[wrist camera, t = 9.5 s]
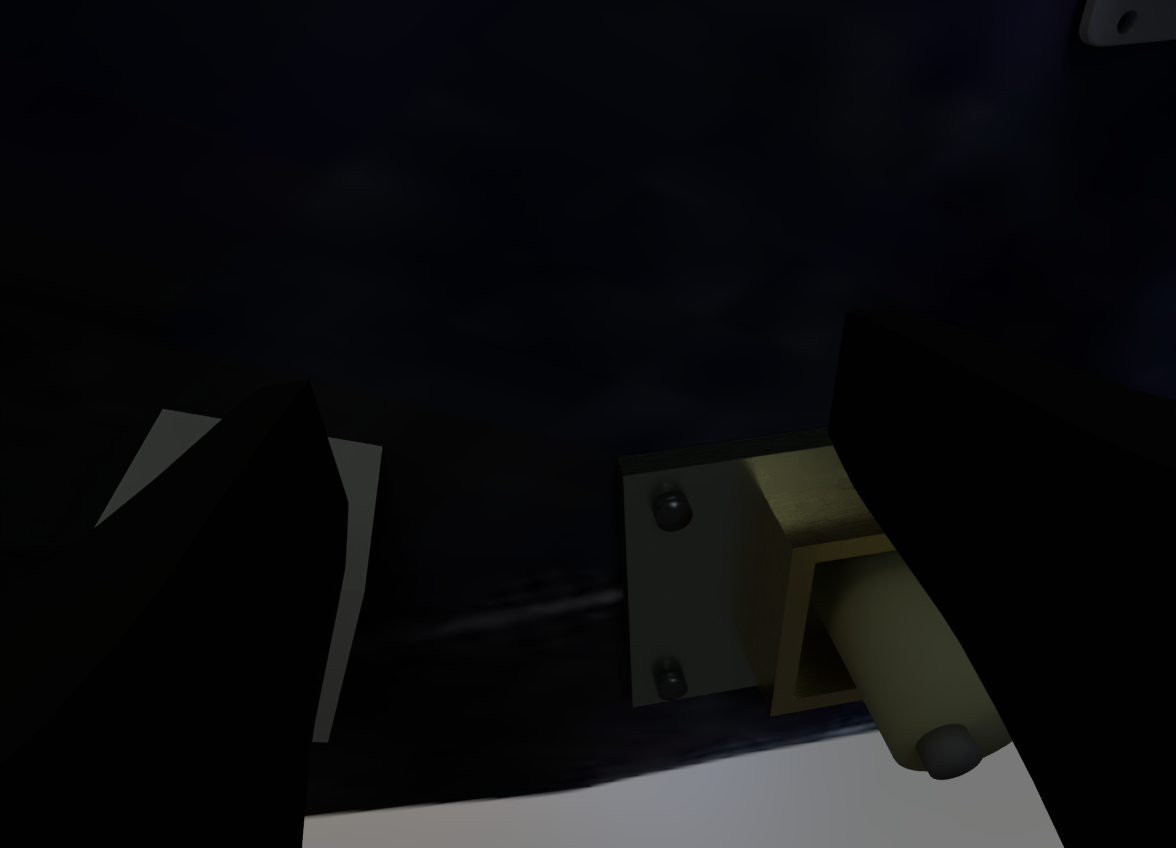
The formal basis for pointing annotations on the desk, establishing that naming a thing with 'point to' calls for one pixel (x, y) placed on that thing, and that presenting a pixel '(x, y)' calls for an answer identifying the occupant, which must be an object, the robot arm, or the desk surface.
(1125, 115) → the desk surface
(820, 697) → the mounting bracket
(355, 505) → the grey cube
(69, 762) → the robot arm
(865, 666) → the switch lever
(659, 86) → the desk surface
